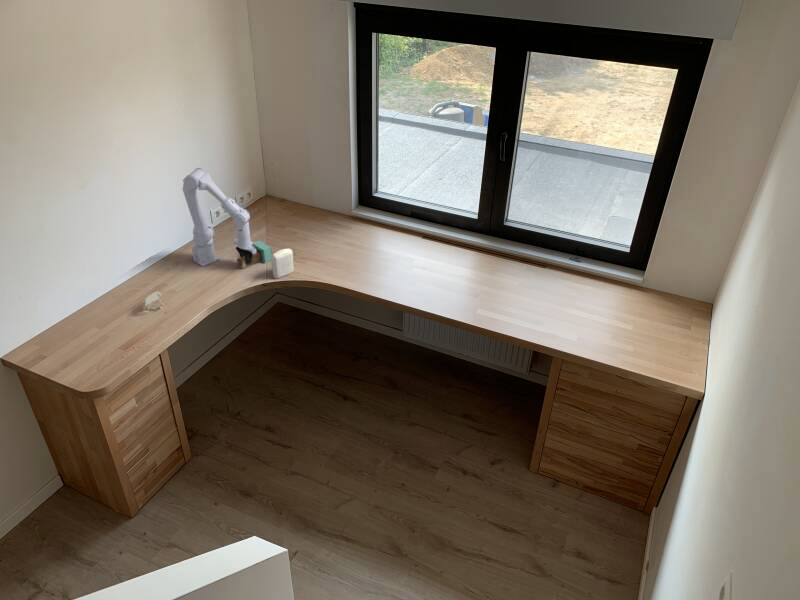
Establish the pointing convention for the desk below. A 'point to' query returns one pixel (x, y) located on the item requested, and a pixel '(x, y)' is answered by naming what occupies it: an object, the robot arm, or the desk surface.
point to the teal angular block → (263, 251)
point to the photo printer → (282, 263)
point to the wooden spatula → (255, 258)
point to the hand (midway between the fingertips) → (246, 261)
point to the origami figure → (152, 300)
